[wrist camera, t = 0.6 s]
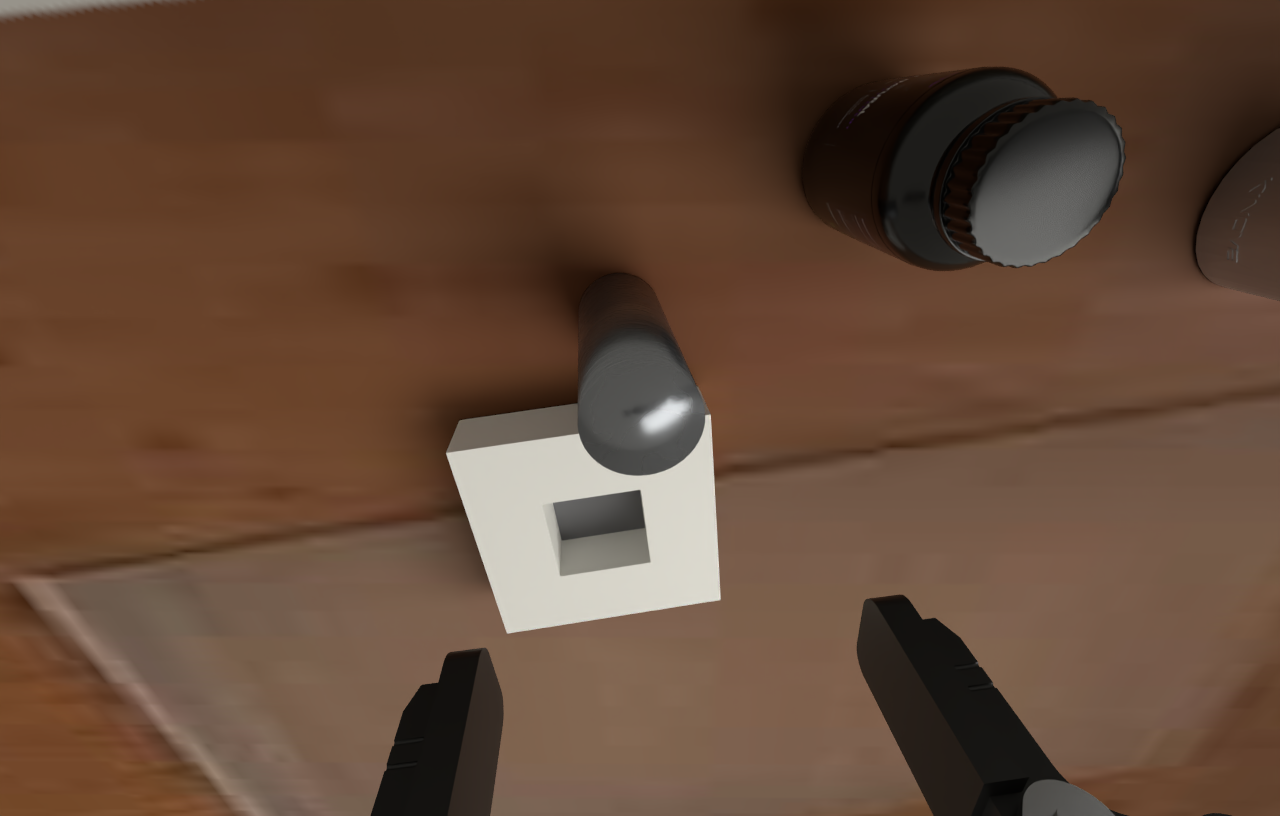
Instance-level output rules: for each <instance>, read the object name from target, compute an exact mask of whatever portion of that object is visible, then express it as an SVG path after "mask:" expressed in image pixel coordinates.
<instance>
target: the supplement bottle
mask: <svg viewBox="0 0 1280 816" xmlns="http://www.w3.org/2000/svg"><path fill="white" fill-rule="evenodd" d="M1124 148H1125V141H1124V139H1123V138H1122V128H1121V127H1120V126H1119V125H1117V124H1116V118H1115V116H1113V115H1110V114H1108V112H1107V109H1106V108H1105V107H1103V106H1097V105H1096V104H1095V103H1094V102H1093V101H1091V100H1080V99H1077V98H1057V96H1056V95H1055V94H1054V92H1053V91H1052V90H1051V89H1050V88H1049V87H1048V86H1047V85H1046V84H1045V83H1044V82H1043V81H1041V80H1040V79H1039V78H1037V77H1035V76H1034V75H1032V74H1030V73H1028V72H1025V71H1022V70H1019V69H1015V68H1010V67H980V68H972V69H964V70H957V71H949V72H941V73H933V74H926V75H918V76H910V77H902V78H894V79H887V80H881V81H875V82H872V83H868V84H865V85H862V86H860V87H857V88H855V89H853V90H851V91H850V92H848V93H846V94H845V95H844V96H842V97H841V98H839V99H838V100H837V101H836V102H835V103H834V104H833V105H832V106H831V107H830V108H829V109H828V110H827V111H826V112H825V113H824V115H823V116H822V117H821V119H820V120H819V122H818V123H817V125H816V126H815V128H814V130H813V132H812V134H811V136H810V138H809V141H808V144H807V147H806V150H805V154H804V159H803V167H802V178H803V186H804V191H805V195H806V198H807V200H808V203H809V205H810V206H811V208H812V210H813V211H814V213H815V214H816V215H817V216H818V217H819V218H820V219H821V220H822V221H823V222H824V223H825V224H827V225H828V226H830V227H831V228H833V229H835V230H837V231H839V232H841V233H843V234H845V235H847V236H849V237H852V238H854V239H856V240H858V241H860V242H863V243H865V244H867V245H869V246H871V247H874V248H876V249H878V250H880V251H882V252H885V253H887V254H889V255H891V256H893V257H895V258H898V259H900V260H902V261H904V262H907V263H909V264H911V265H914V266H917V267H920V268H924V269H927V270H933V271H954V270H961V269H965V268H969V267H973V266H976V265H979V264H982V263H984V262H989V263H992V264H995V265H998V266H1002V267H1006V266H1009V267H1012V268H1019V267H1022V266H1028V267H1032V266H1034V265H1035V264H1037V263H1045V262H1047V261H1049V260H1050V259H1051V258H1053V257H1057V256H1060V255H1062V254H1063V253H1064V252H1065V251H1066V250H1067V249H1070V248H1072V247H1074V246H1075V245H1076V244H1077V243H1078V242H1079V240H1080V239H1082V238H1084V237H1085V236H1087V235H1088V234H1089V232H1090V231H1091V229H1092V227H1093V226H1095V225H1096V224H1097V223H1098V222H1099V221H1100V219H1101V217H1102V215H1103V213H1104V212H1105V211H1106V210H1107V209H1108V208H1109V207H1110V204H1111V201H1112V198H1113V196H1114V195H1115V194H1116V192H1117V191H1118V185H1119V181H1120V179H1121V178H1122V176H1123V164H1124V162H1125V159H1126V156H1125V153H1124Z"/></svg>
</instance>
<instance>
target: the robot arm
mask: <svg viewBox="0 0 1280 816" xmlns="http://www.w3.org/2000/svg"><path fill="white" fill-rule="evenodd" d="M1196 255H1197V261H1198V265H1199V267H1200V269H1201V271H1202V272H1203V274H1204V276H1206V277H1207V278H1208V279H1209V280H1210V281H1211V282H1213V283H1215V284H1217V285H1220V286H1223V287H1225V288H1229V289H1233V290H1237V291H1241V292H1245V293H1249V294H1253V295H1257V296H1261V297H1265V298H1269V299H1273V300H1277V301H1280V128H1278V129H1276V130H1275V131H1273V132H1272V133H1271V134H1269V135H1268V136H1267V137H1265V138H1264V139H1262V140H1261V141H1260V142H1258V143H1257V144H1256V145H1255V146H1254V147H1252V148H1251V149H1250V150H1249V151H1248V152H1247V153H1246V154H1245V155H1244V156H1243V157H1242V158H1241V159H1240V160H1239V161H1238V162H1237V163H1236V164H1235V165H1234V167H1233V168H1232V169H1231V170H1230V171H1229V173H1228V174H1227V175H1226V176H1225V177H1224V178H1223V180H1222V181H1221V183H1220V185H1219V186H1218V188H1217V189H1216V191H1215V192H1214V194H1213V195H1212V197H1211V199H1210V201H1209V203H1208V205H1207V207H1206V209H1205V211H1204V214H1203V216H1202V219H1201V222H1200V226H1199V229H1198V233H1197V240H1196ZM857 656H858V661H859V665H860V668H861V671H862V673H863V676H864V678H865V680H866V682H867V684H868V686H869V688H870V690H871V692H872V694H873V696H874V698H875V700H876V702H877V704H878V706H879V708H880V710H881V712H882V714H883V716H884V718H885V720H886V722H887V724H888V726H889V728H890V730H891V732H892V734H893V736H894V738H895V740H896V742H897V744H898V746H899V748H900V750H901V752H902V754H903V756H904V758H905V760H906V762H907V764H908V765H909V767H910V769H911V771H912V773H913V775H914V777H915V779H916V781H917V783H918V785H919V787H920V789H921V791H922V793H923V795H924V797H925V799H926V801H927V803H928V805H929V807H930V809H931V811H932V813H933V815H934V816H1127V815H1124V814H1120V813H1117V812H1115V811H1112V810H1109V809H1108V808H1107V807H1106V806H1105V805H1104V804H1103V803H1101V802H1100V801H1099V800H1097V799H1096V798H1095V797H1094V796H1092V795H1091V794H1089V793H1087V792H1086V791H1084V790H1082V789H1080V788H1078V787H1076V786H1074V785H1072V784H1070V783H1068V782H1067V781H1066V780H1065V779H1064V778H1063V776H1062V775H1061V774H1060V773H1059V772H1058V771H1057V770H1056V768H1055V767H1054V766H1053V765H1052V763H1051V762H1050V760H1049V759H1048V758H1047V756H1046V755H1045V754H1044V752H1043V751H1042V749H1041V748H1040V747H1039V745H1038V744H1037V743H1036V741H1035V740H1034V738H1033V737H1032V736H1031V734H1030V733H1029V732H1028V730H1027V729H1026V727H1025V726H1024V725H1023V723H1022V722H1021V721H1020V719H1019V718H1018V716H1017V715H1016V714H1015V712H1014V711H1013V710H1012V708H1011V707H1010V705H1009V704H1008V703H1007V701H1006V700H1005V699H1004V697H1003V696H1002V694H1001V693H1000V692H999V690H998V689H997V688H994V686H993V682H992V681H991V679H990V678H989V677H988V675H987V674H986V673H985V671H984V670H983V668H982V667H979V665H978V662H977V660H976V659H975V657H974V656H973V655H972V653H971V652H970V651H969V649H968V648H967V646H966V645H965V644H964V642H963V641H962V640H961V638H960V637H959V636H957V635H956V634H955V633H954V632H952V631H951V630H950V629H948V628H947V627H946V626H945V625H943V624H942V623H941V622H940V621H938V620H937V619H936V618H931V619H924V620H922V618H921V617H920V615H919V614H918V612H917V611H916V609H915V608H914V606H913V605H912V603H911V602H910V601H909V600H908V599H907V598H906V597H905V596H904V595H893V596H886V597H878V598H870V599H866V600H865V602H864V605H863V610H862V617H861V623H860V629H859V635H858V641H857ZM502 726H503V697H502V692H501V689H500V685H499V682H498V679H497V676H496V673H495V670H494V667H493V664H492V661H491V658H490V655H489V652H488V650H487V649H486V648H479V649H471V650H463V651H456V652H450V653H448V654H447V656H446V658H445V660H444V663H443V667H442V671H441V675H440V678H439V682H438V683H432V684H425V685H421V686H420V688H419V689H418V691H417V692H416V694H415V695H414V697H413V698H412V699H411V701H410V702H409V704H408V705H407V707H406V708H405V710H404V711H403V714H402V717H401V720H400V723H399V727H398V730H397V733H396V736H395V739H394V742H395V743H394V746H392V749H391V752H390V756H389V759H388V762H387V770H386V771H385V772H384V775H383V778H382V781H381V784H380V788H379V791H378V794H377V797H376V800H375V804H374V807H373V810H372V813H371V816H490V812H491V805H492V798H493V791H494V784H495V777H496V769H497V762H498V755H499V748H500V741H501V734H502ZM1203 816H1231V815H1226V814H1220V813H1211V814H1206V815H1203Z"/></svg>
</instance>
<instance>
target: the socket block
mask: <svg viewBox="0 0 1280 816" xmlns="http://www.w3.org/2000/svg"><path fill="white" fill-rule="evenodd" d="M697 389H698V391H699V393H700V395H701V398H702V400H703V403H704V407H705V426H704V430H703V433H702V436H701V438H700V440H699V442H698V444H697V445H696V447H695V448H694V450H693V451H692V452H691V453H690V454H689V455H688V456H687V457H686V458H685V459H684V460H683V461H681V462H680V463H678V464H677V465H675V466H673V467H672V468H670V469H667V470H665V471H662V472H659V473H656V474H651V475H643V476H632V475H624V474H620V473H617V472H614V471H611V470H609V469H607V468H605V467H603V466H602V465H600V464H599V463H597V462H596V461H595V460H594V459H593V458H592V457H591V456H590V455H589V454H588V452H587V451H586V449H585V448H584V446H583V444H582V442H581V439H580V436H579V432H578V403H576V404H569V405H562V406H555V407H548V408H541V409H534V410H527V411H520V412H513V413H506V414H499V415H492V416H485V417H479V418H472V419H465V420H459V422H458V425H457V427H456V430H455V432H454V434H453V437H452V439H451V442H450V444H449V447H448V449H447V452H446V455H447V458H448V461H449V464H450V466H451V469H452V472H453V475H454V478H455V481H456V484H457V487H458V490H459V493H460V496H461V499H462V502H463V505H464V508H465V511H466V514H467V517H468V520H469V522H470V525H471V528H472V531H473V534H474V537H475V540H476V543H477V546H478V549H479V552H480V555H481V558H482V561H483V564H484V567H485V570H486V573H487V575H488V578H489V581H490V584H491V587H492V590H493V593H494V596H495V599H496V602H497V605H498V608H499V611H500V614H501V617H502V620H503V623H504V626H505V629H506V631H507V633H514V632H520V631H526V630H533V629H539V628H545V627H552V626H558V625H564V624H571V623H577V622H583V621H590V620H596V619H602V618H609V617H615V616H621V615H628V614H634V613H640V612H647V611H653V610H659V609H666V608H672V607H678V606H685V605H691V604H697V603H704V602H710V601H716V600H721V599H720V580H719V562H718V543H717V524H716V505H715V487H714V468H713V449H712V431H711V414H710V412H709V410H708V407H707V405H706V403H705V401H704V399H703V396H702V394H701V392H700V390H699V387H698V386H697Z"/></svg>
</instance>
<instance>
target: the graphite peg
mask: <svg viewBox="0 0 1280 816" xmlns="http://www.w3.org/2000/svg"><path fill="white" fill-rule="evenodd" d="M704 426H705V407H704V403H703V400H702V398H701V395H700V393H699V391H698V389H697V386H696V384H695V382H694V380H693V377H692V375H691V373H690V371H689V368H688V366H687V364H686V362H685V359H684V357H683V355H682V353H681V350H680V348H679V346H678V344H677V341H676V339H675V337H674V335H673V332H672V330H671V328H670V326H669V323H668V321H667V319H666V317H665V314H664V312H663V310H662V308H661V305H660V303H659V301H658V299H657V296H656V294H655V292H654V291H653V289H652V288H651V287H650V286H649V285H648V284H647V283H646V282H645V281H643V280H642V279H640V278H638V277H636V276H634V275H631V274H626V273H614V274H609V275H606V276H603V277H601V278H599V279H597V280H596V281H594V282H593V283H592V284H591V285H590V286H589V287H588V288H587V289H586V291H585V293H584V294H583V296H582V298H581V301H580V305H579V323H578V432H579V436H580V439H581V442H582V444H583V446H584V448H585V449H586V451H587V452H588V454H589V455H590V456H591V457H592V458H593V459H594V460H595V461H596V462H597V463H599V464H600V465H602V466H603V467H605V468H607V469H609V470H611V471H614V472H617V473H620V474H624V475H632V476H643V475H651V474H656V473H659V472H662V471H665V470H667V469H670V468H672V467H673V466H675V465H677V464H678V463H680V462H681V461H683V460H684V459H685V458H686V457H687V456H688V455H689V454H690V453H691V452H692V451H693V450H694V448H695V447H696V445H697V444H698V442H699V440H700V438H701V436H702V433H703V430H704Z"/></svg>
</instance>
